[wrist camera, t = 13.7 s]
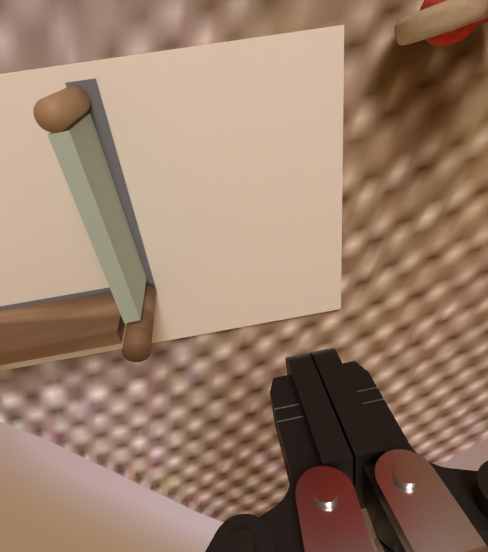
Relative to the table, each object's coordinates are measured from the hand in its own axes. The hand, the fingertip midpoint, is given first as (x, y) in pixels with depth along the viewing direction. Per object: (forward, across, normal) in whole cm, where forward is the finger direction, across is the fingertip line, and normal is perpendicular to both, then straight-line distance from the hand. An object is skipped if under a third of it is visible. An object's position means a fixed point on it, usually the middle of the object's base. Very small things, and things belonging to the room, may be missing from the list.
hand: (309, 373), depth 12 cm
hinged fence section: (+21, +9, 0) cm, 23 cm away
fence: (+22, +16, +9) cm, 29 cm away
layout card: (+22, +8, +3) cm, 24 cm away
